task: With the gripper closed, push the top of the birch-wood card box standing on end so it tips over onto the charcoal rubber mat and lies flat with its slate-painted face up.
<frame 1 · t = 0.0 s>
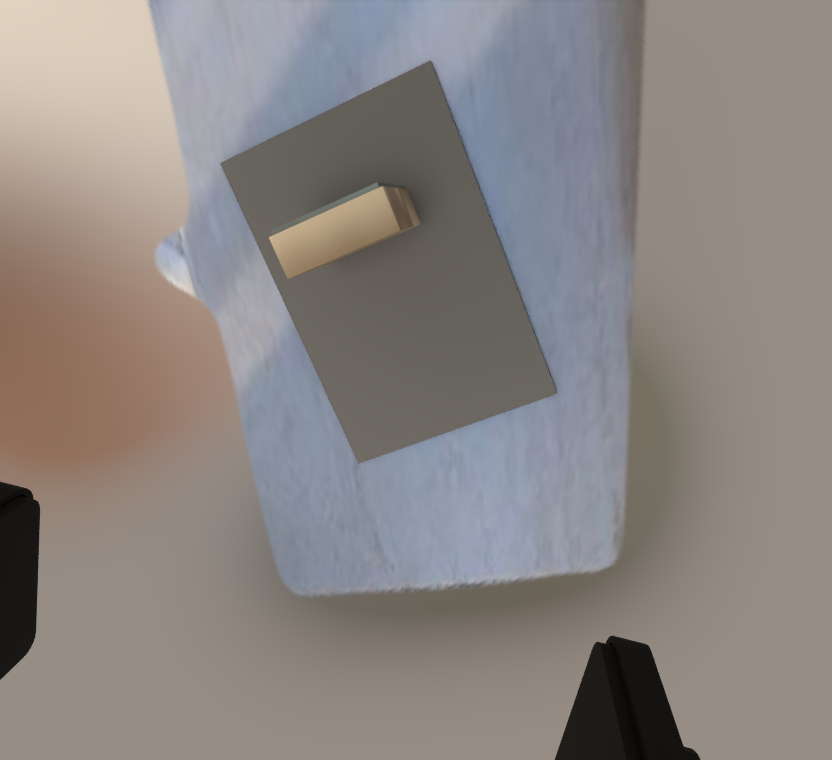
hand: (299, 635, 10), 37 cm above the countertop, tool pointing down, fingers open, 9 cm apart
card box: (368, 226, 45), point 1 cm above the countertop, touching mat
mat: (392, 279, 46), on the countertop
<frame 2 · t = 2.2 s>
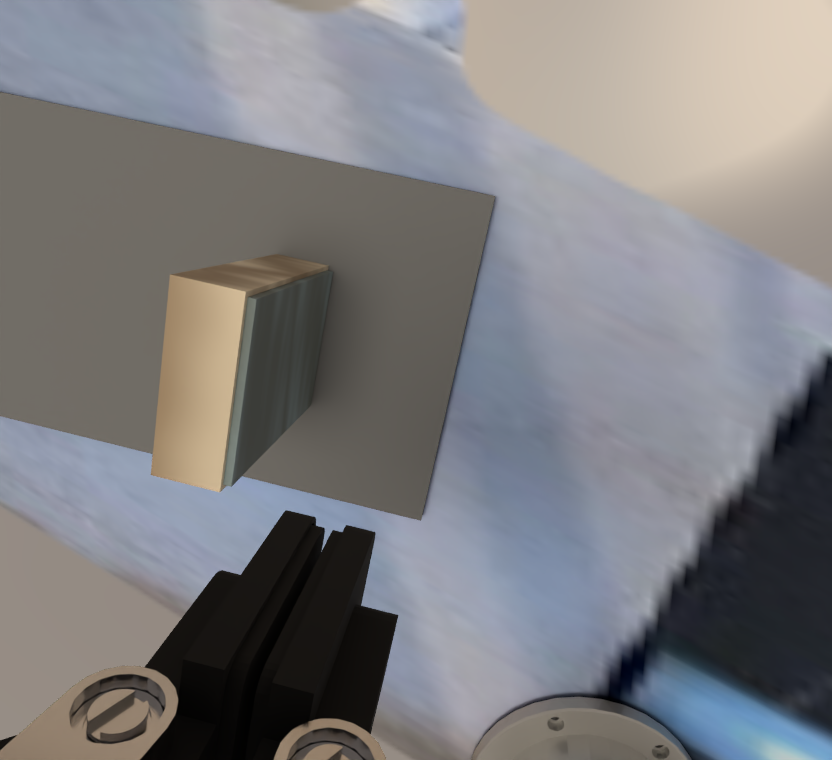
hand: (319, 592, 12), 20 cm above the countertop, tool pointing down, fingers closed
card box: (291, 332, 31), point 1 cm above the countertop, touching mat
mat: (217, 312, 31), on the countertop
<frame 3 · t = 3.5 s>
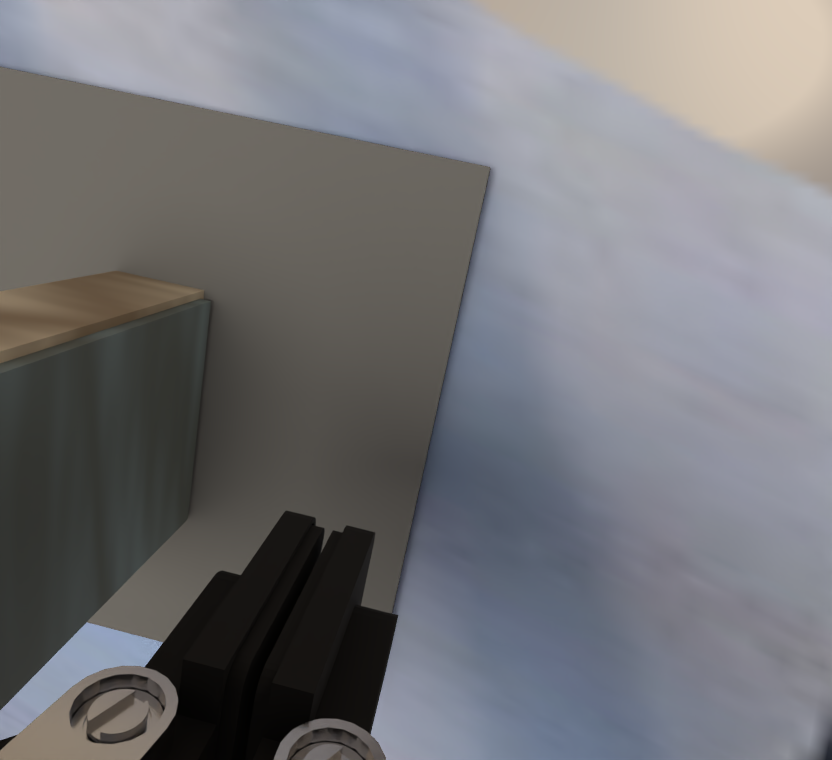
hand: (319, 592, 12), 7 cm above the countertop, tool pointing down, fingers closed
card box: (150, 401, 18), point 1 cm above the countertop, touching mat
mat: (33, 365, 19), on the countertop
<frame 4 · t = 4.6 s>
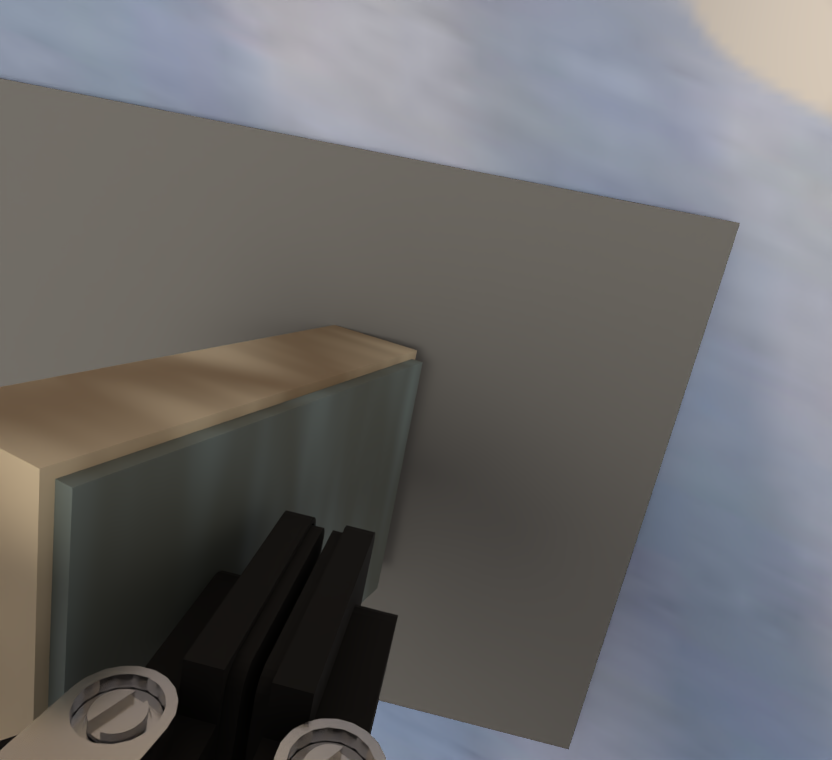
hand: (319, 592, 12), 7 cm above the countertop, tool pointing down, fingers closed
card box: (353, 459, 18), point 1 cm above the countertop, tilted 19°, touching mat
mat: (231, 416, 19), on the countertop
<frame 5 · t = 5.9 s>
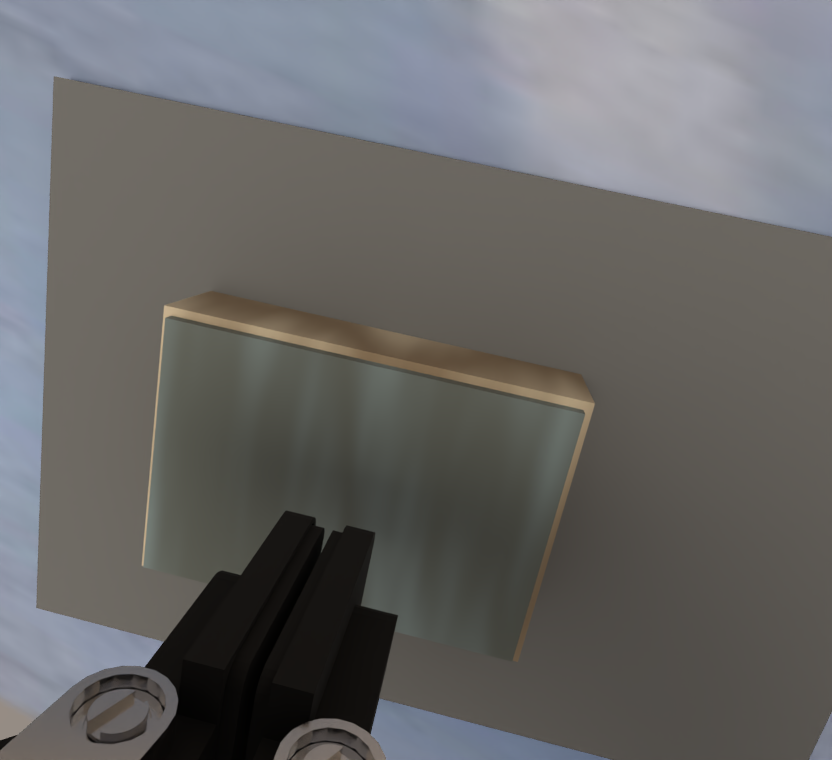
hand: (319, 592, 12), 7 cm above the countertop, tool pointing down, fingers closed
card box: (549, 516, 16), point 2 cm above the countertop, tilted 90°, touching mat
mat: (453, 463, 18), on the countertop
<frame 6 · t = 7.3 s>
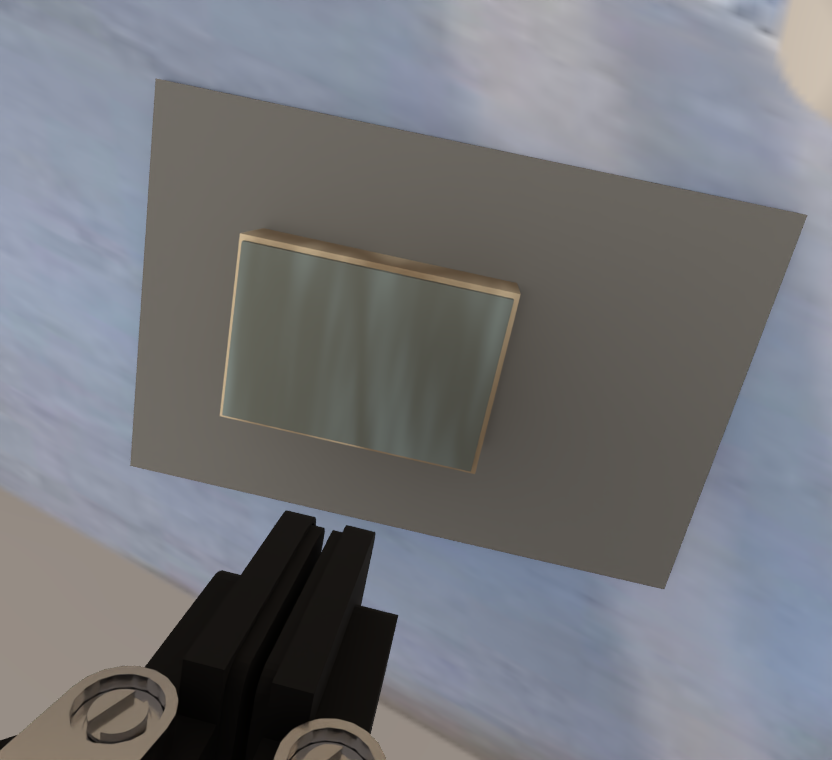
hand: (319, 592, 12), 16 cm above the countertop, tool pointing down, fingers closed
card box: (496, 378, 24), point 2 cm above the countertop, tilted 90°, touching mat
mat: (431, 350, 26), on the countertop
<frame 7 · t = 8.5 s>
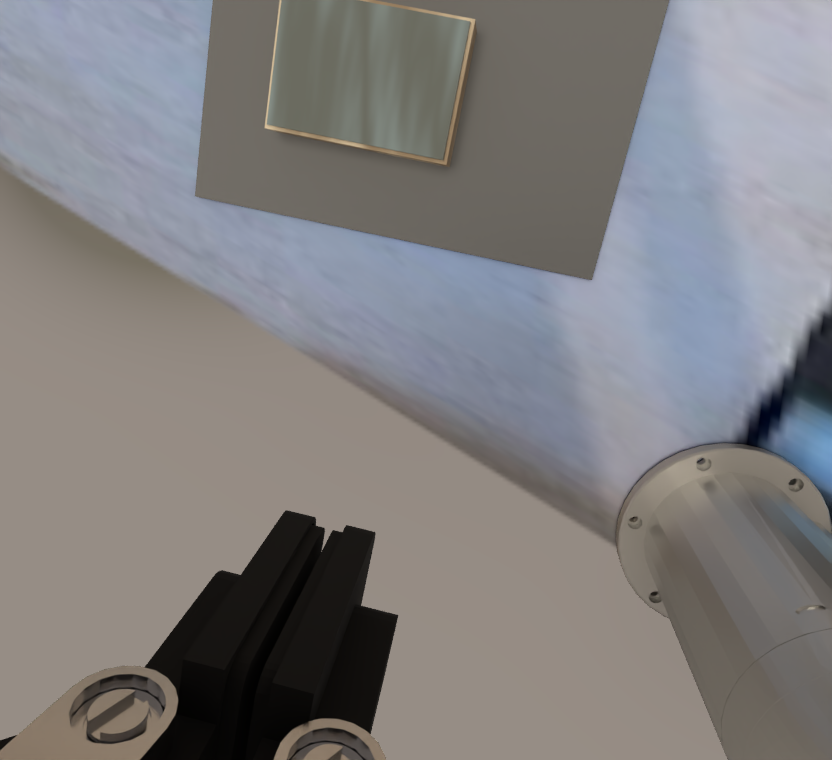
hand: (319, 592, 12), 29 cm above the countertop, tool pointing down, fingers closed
card box: (461, 98, 34), point 2 cm above the countertop, tilted 90°, touching mat
mat: (417, 93, 36), on the countertop
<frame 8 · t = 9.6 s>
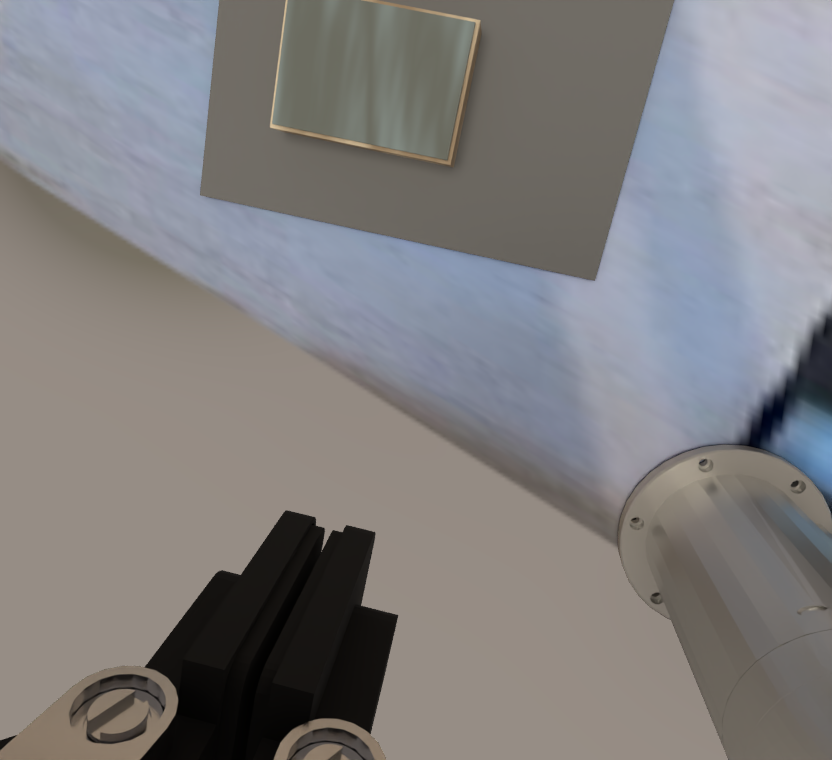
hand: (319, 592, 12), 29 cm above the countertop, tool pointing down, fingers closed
card box: (466, 98, 34), point 2 cm above the countertop, tilted 90°, touching mat
mat: (421, 94, 36), on the countertop
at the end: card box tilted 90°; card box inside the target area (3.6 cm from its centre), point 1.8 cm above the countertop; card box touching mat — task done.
